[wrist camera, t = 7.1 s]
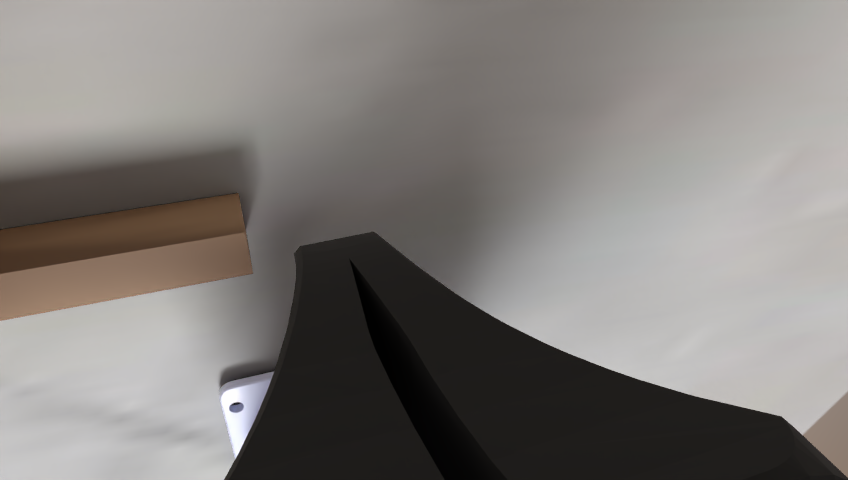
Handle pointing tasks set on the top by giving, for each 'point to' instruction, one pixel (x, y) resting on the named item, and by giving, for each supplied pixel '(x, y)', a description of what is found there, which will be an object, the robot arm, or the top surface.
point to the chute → (121, 255)
